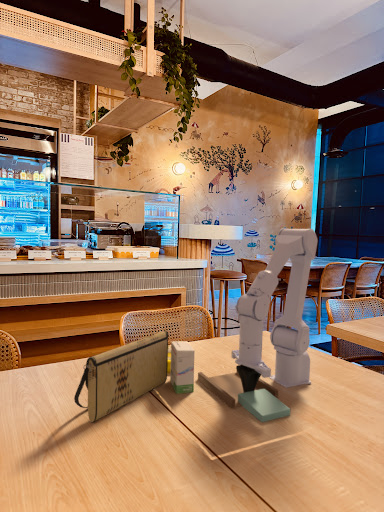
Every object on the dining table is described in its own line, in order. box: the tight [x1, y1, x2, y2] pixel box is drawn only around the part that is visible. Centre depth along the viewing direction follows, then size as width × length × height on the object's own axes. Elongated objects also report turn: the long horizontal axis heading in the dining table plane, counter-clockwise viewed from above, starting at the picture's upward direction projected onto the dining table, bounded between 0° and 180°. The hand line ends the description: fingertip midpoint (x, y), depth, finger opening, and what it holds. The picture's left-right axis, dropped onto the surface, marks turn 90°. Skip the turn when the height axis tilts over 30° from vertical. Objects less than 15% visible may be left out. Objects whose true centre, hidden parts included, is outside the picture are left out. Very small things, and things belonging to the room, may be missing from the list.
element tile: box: [167, 344, 171, 374], centre depth 114 cm, size 15×15×5 cm
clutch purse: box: [73, 330, 170, 424], centre depth 89 cm, size 30×7×15 cm, turn 147°
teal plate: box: [238, 389, 292, 423], centre depth 86 cm, size 8×10×2 cm
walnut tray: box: [197, 370, 279, 409], centre depth 96 cm, size 14×18×2 cm
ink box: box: [169, 340, 195, 394], centre depth 97 cm, size 8×5×12 cm, turn 14°
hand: (248, 394), depth 91 cm, fingers closed
